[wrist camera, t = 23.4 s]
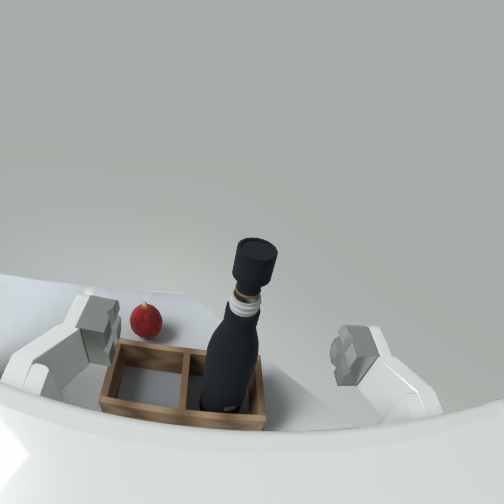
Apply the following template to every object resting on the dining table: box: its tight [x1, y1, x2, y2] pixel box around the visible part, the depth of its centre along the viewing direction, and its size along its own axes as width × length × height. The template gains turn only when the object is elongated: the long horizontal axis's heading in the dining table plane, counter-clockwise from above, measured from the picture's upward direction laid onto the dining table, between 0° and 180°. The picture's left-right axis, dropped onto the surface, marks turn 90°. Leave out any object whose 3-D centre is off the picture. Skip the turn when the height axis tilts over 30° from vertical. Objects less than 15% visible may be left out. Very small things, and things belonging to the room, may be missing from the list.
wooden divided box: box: [99, 338, 266, 431], centre depth 44 cm, size 23×12×6 cm, turn 93°
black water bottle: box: [199, 238, 278, 414], centre depth 38 cm, size 6×6×30 cm
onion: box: [130, 302, 162, 338], centre depth 54 cm, size 6×6×8 cm
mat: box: [102, 365, 263, 431], centre depth 46 cm, size 25×14×1 cm, turn 93°
